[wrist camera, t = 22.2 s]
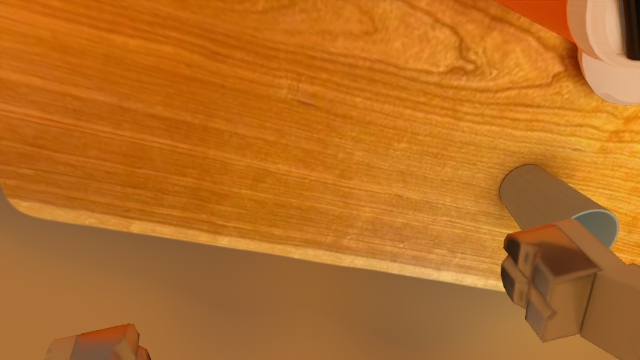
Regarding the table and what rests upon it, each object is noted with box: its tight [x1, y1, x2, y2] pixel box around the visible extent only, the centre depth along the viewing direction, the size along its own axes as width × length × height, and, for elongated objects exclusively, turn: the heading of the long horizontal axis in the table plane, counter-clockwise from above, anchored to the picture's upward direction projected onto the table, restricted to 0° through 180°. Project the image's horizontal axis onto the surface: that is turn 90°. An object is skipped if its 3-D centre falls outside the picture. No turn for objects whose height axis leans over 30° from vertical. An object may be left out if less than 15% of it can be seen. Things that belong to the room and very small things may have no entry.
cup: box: [499, 165, 619, 249], centre depth 50 cm, size 8×8×10 cm
